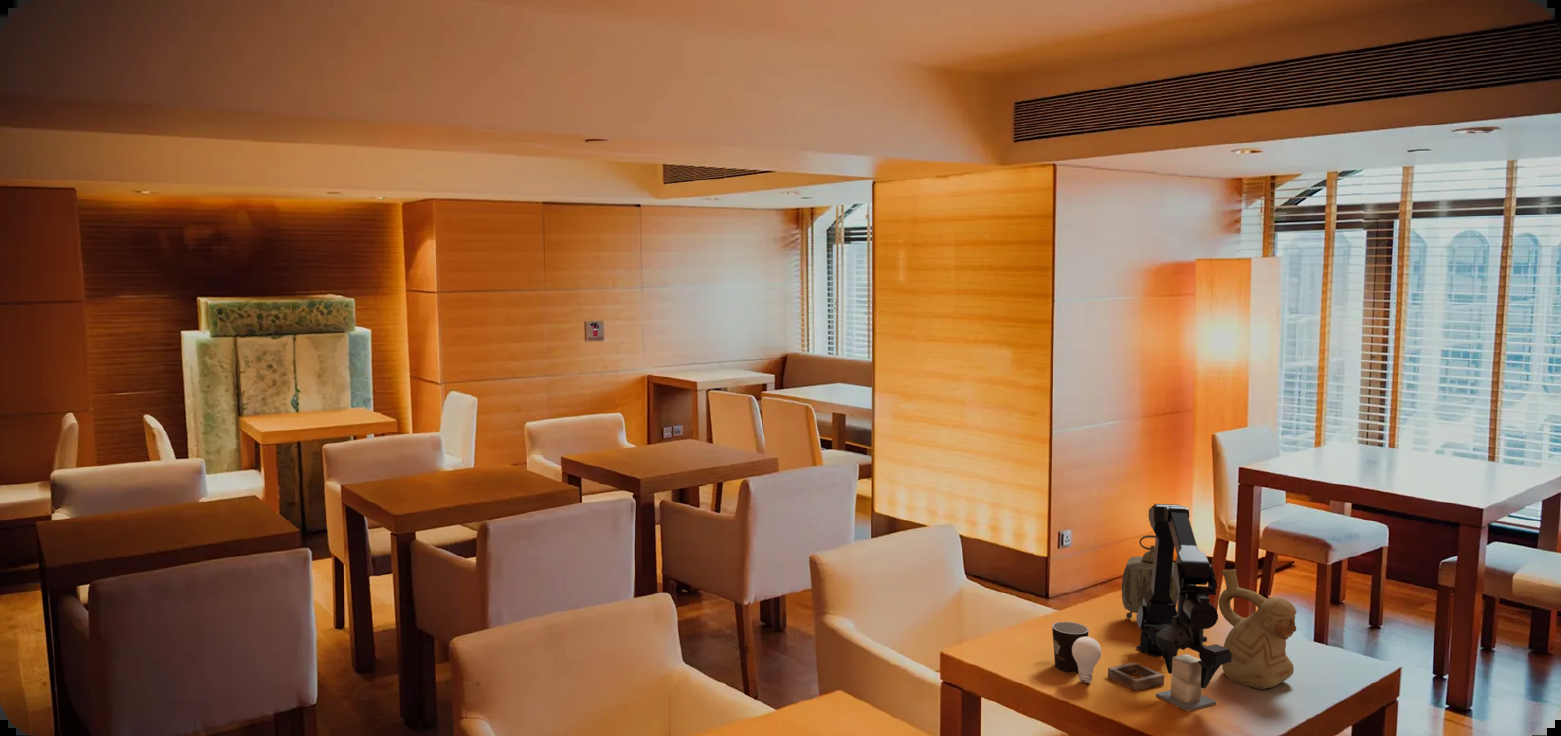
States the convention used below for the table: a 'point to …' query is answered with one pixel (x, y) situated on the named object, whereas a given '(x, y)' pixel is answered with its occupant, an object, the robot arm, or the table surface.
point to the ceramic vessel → (1257, 637)
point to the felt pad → (1186, 706)
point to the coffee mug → (1066, 644)
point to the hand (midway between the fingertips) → (1186, 680)
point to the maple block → (1186, 678)
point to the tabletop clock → (1141, 580)
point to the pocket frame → (1147, 681)
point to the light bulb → (1086, 657)
